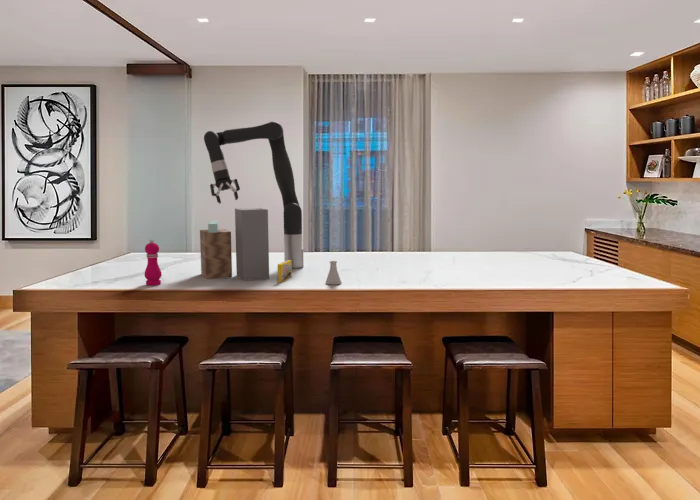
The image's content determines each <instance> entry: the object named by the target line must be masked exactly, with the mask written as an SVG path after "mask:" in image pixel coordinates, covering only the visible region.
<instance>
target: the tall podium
mask: <svg viewBox="0 0 700 500" xmlns="http://www.w3.org/2000/svg"><path fill="white" fill-rule="evenodd" d="M234 220H235V221H234V224H235V225H234V226H235V231H234V232H235V258H236V259H235V260H236V262H235V264H236V265H235V268H236V269H235V270H236V276H237V277H238V278H239V277H240V278H239V279H241V280H242V281H243V280H244V281H258V279H260V280H270V255H269V254H270V253H269V252H270V250H269V249H270V248H269V210H268V209H267V208H262V207H250V208H248V207H247V208H246V207H245V208H244V207H243V208H237V207H236V208H234Z"/></svg>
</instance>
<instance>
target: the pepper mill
mask: <svg viewBox="0 0 700 500" xmlns="http://www.w3.org/2000/svg"><path fill="white" fill-rule="evenodd" d="M144 252H145V253H146V254H145V255H146V260H147V264H146V267H145V270H144V277H145V279H146V280H145V285H146V286H153V287H154V286H160V285H161V284H162V280H161V277H162V276H163V275H162V270H161V268H160V266H159V263H158V258H159V253H158V252H160V246H159V245H158V244H157V242H156V243H155V240H154V239H150V240H149V243H147V244H145V247H144Z"/></svg>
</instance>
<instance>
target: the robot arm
mask: <svg viewBox="0 0 700 500" xmlns="http://www.w3.org/2000/svg"><path fill="white" fill-rule="evenodd" d="M259 139H260V140H262V139H263V140H266V139H267V140H268V143H269V146H270V149H271V150H270V151H271V156H272V157H271V160H272V167H273V173H274V179H275V180H276V183H277V187H278V189H279V191H280V194H281V198H282V206H283V241H284V242H283V244H284V245H283V246H284V247H283V249H284V250H283V251H284V253H283V254H284V255H283V257H284V260H283V262H285V261H287V260H291V261H292V265H291V269H296V268H297V269H299V268H303V267H304V264H305V263H304V248H303V226H302V225H303V214H302V213H303V211H302V207H301V205H300V203H299V200H298V197H297V194H296V188H295V187H296V186H295V177H294V172H293V168H292V164H291V161H290V157H289V154H288V152H287V148H286V144H285V137H284V128H283V126H282V125H281V123H279V122H278V121H274V120H272V121H269V122H267V123H264V124H261V125H257V126H256V125H255V126H249V127H241V128H231V129H225V130H224V131H219V132H215V131H213V130H209V131H206V132H205V133H204V135H203V141H204V144H205V147H206V150H207V152H208V156H209V161H210V164H211V165H210V166H211V171H212V174H213V178H214V182H215V183H211V184H210V185H209V187H210V193H211V196H212V197H215V198H216V201H217V203H218V204H219V205H220V204H222V201H221V197H220V193H221V191H227V190H230V191H232V192H233V196H234V200H235V201H237V200H238V199H239V194H238V192H239V191H241V188H240V185H239V182H238V179H237V178H235V179H231V177H230V173H229V169H228V165H227V163H226V160H225V156H224V152H223V150H222V149H221V146H224V145H230V144H238V143H239V144H240V143H243V142H244V143H245V142H247V141H253V140H259ZM232 184H234V186H235V187H234V186H232ZM215 187H216V188H217V190H216V193H215Z"/></svg>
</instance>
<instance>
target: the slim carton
mask: <svg viewBox="0 0 700 500" xmlns="http://www.w3.org/2000/svg"><path fill="white" fill-rule="evenodd" d="M207 225H208V226H207V230H208V233H214V232H218V229H219V220H217V219H216V220H209V222H208V224H207Z"/></svg>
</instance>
